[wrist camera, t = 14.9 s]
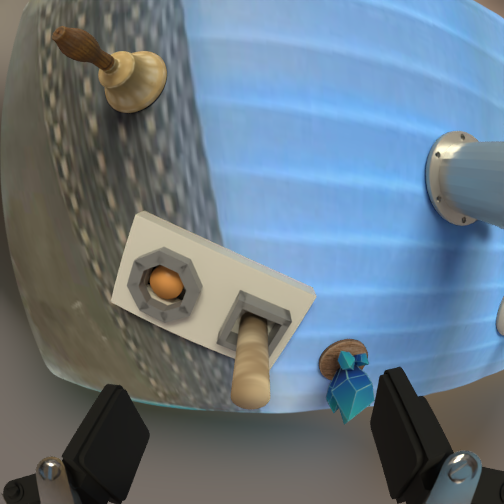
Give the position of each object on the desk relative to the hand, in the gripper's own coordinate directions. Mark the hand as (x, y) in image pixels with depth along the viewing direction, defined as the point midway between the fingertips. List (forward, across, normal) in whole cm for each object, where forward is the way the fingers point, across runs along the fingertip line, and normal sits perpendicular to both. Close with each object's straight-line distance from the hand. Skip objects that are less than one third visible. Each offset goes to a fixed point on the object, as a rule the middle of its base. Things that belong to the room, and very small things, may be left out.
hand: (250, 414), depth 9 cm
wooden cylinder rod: (+22, +2, +9) cm, 24 cm away
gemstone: (+25, -9, +19) cm, 33 cm away
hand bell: (+24, +12, -21) cm, 35 cm away
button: (+24, +11, +3) cm, 26 cm away
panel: (+24, +7, +6) cm, 26 cm away
